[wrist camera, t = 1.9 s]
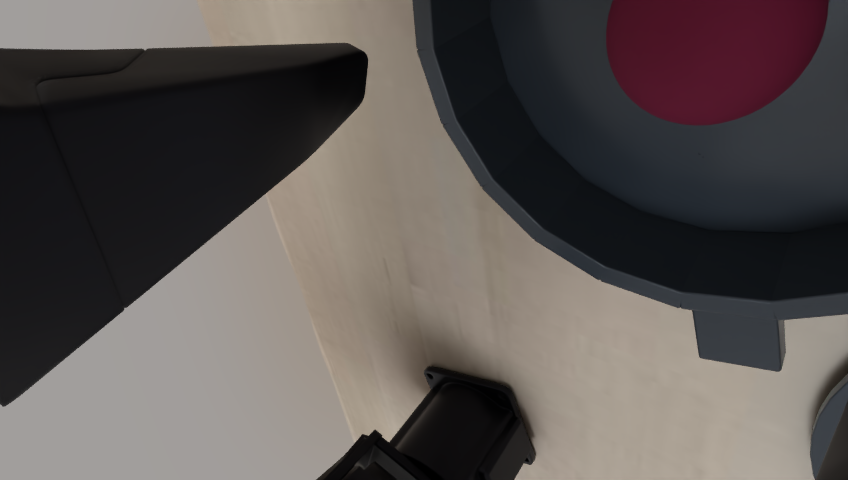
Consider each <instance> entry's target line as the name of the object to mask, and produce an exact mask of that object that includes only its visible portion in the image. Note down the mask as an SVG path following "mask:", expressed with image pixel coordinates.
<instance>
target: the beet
mask: <svg viewBox="0 0 848 480" xmlns="http://www.w3.org/2000/svg"><path fill="white" fill-rule="evenodd" d="M828 4H829V0H613V1H612V4H611V7H610V11H609V15H608V21H607V28H606V47H607V55H608V59H609V63H610V66H611V69H612V71H613V74H614V76H615V78H616V80H617V82H618V83H619V85H620V87H621V88H622V89H623V91H624V92H625V94H626V95H627V96H628V97H629V98H630V99H631V100H632V101H633V102H634V103H635V104H637V105H638V106H639V107H640V108H642V109H643V110H645V111H646V112H648V113H650V114H652V115H654V116H656V117H658V118H660V119H663V120H666V121H669V122H674V123H679V124H683V125H695V126H698V125H713V124H720V123H724V122H728V121H732V120H736V119H738V118H741V117H744V116H746V115H749V114H751V113H753V112H755V111H757V110H759V109H761V108H763V107H764V106H766V105H767V104H769V103H770V102H772V101H773V100H775V99H776V98H777V97H779V96H780V95H781V94H782V93H783V92H785V91H786V90H787V89H788V88H789V87H790V86H791V85H792V84H793V83H794V82H795V81H796V80H797V79H798V78H799V77H800V75H801V74H802V73H803V71H804V70H805V69H806V67H807V66H808V64H809V63H810V61H811V60H812V58H813V56H814V54H815V53H816V51H817V49H818V47H819V44H820V42H821V39H822V37H823V34H824V30H825V26H826V21H827V16H828Z"/></svg>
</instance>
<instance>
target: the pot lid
mask: <svg viewBox="0 0 848 480" xmlns="http://www.w3.org/2000/svg"><path fill="white" fill-rule="evenodd" d="M847 401H848V374H847V375H846V376H845V377H844V378H843V379H842V380H841V381H840V382H839V383H838V384H837V385H836V386H835V387H834V388H833V389H832V390H831V392H830V393H829V395H828V396H827V398H826V399H825V401H824V402H823V404H822V405H821V407H820V409H819V412H818V415H817V417H816V420H815V423H814V426H813V431H812V438H811V449H810V457H811V464H812V470H813V475H814V477H815V480H816V477H817V474H818V472H819V469H820V467H821V464H822V462H823V459H824V457H825V454H826V452H827V449H828V447H829V445H830V442H831V440H832V437H833V435H834V432H835V430H836V428H837V425H838V423H839V420H840V418H841V415H842V413H843V410H844V408H845V406H846V403H847Z"/></svg>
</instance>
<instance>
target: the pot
mask: <svg viewBox="0 0 848 480" xmlns="http://www.w3.org/2000/svg"><path fill="white" fill-rule="evenodd" d="M612 1H613V0H413V11H414V23H415V34H416V46H417V49H418V50H417V52H418V55H419V58H420V61H421V64H422V67H423V70H424V73H425V76H426V79H427V82H428V85H429V88H430V91H431V94H432V97H433V100H434V103H435V106H436V109H437V112H438V115H439V118H440V121H441V123H442V124H443V127H444V128H445V130H446V132H447V133H448V135H449V136H450V138H451V140H452V141H453V143H454V144H455V146H456V148H457V149H458V151H459V152H460V154H461V156H462V157H463V159H464V160H465V162H466V164H467V165H468V167H469V168H470V170H471V172H472V173H473V175H474V176H475V178H476V180H477V181H478V183H479V184H480V186H481V187H482V188H483V190H484V191H485V192H486V193H487V194H488V195H489V196H490V197H491V198H492V199H493V200H494V201H495V202H496V203H497V204H498V205H499V206H500V207H501V208H502V209H503V210H504V211H505V212H506V213H507V214H508V215H510V216H511V217H512V218H513V219H514V220H515V221H516V222H517V223H518V224H519V225H520V226H521V227H522V228H523V229H524V230H525V231H526V232H527V233H528V234H529V235H530V236H531V237H532V238H533V239H535V241H536V242H538V243H540V244H541V245H543V246H545V247H546V248H548V249H549V250H551V251H553V252H554V253H556V254H557V255H559V256H561V257H562V258H564V259H565V260H567V261H569V262H570V263H572V264H573V265H575V266H577V267H578V268H580V269H582V270H583V271H585V272H586V273H588V274H590V275H591V276H593V277H594V278H596V279H598V280H601V281H602V282H605V283H608V284H611V285H614V286H617V287H619V288H622V289H625V290H628V291H631V292H634V293H637V294H639V295H642V296H645V297H648V298H651V299H654V300H657V301H659V302H662V303H665V304H668V305H671V306H674V307H677V308H680V307H681V308H682V309H688V310H692V312H693V318H694V325H695V332H696V339H697V346H698V353H699V357H700V358H702V359H708V360H714V361H719V362H725V363H731V364H736V365H742V366H748V367H754V368H759V369H765V370H771V371H776V372H779V371H781V369H782V365H783V361H784V357H785V353H786V348H785V329H784V320H789V319H799V318H810V317H821V316H832V315H843V314H848V0H829V4H828V16H827V21H826V26H825V30H824V34H823V37H822V39H821V42H820V44H819V47H818V49H817V51H816V53H815V54H814V56H813V58H812V60H811V61H810V63H809V64H808V66H807V67H806V69H805V70H804V71H803V73H802V74H801V75H800V77H799V78H798V79H797V80H796V81H795V82H794V83H793V84H792V85H791V86H790V87H789V88H788V89H787V90H786V91H785V92H783V93H782V94H781V95H780V96H779V97H777V98H776V99H775V100H773V101H772V102H770V103H769V104H767V105H766V106H764V107H763V108H761V109H759V110H757V111H755V112H753V113H751V114H749V115H746V116H744V117H741V118H738V119H736V120H732V121H728V122H724V123H720V124H713V125H698V126H695V125H683V124H679V123H674V122H669V121H666V120H663V119H660V118H658V117H656V116H654V115H652V114H650V113H648V112H646V111H645V110H643V109H642V108H640V107H639V106H638V105H637V104H635V103H634V102H633V101H632V100H631V99H630V98H629V97H628V96H627V95H626V94H625V92H624V91H623V89H622V88H621V87H620V85H619V83H618V82H617V80H616V78H615V76H614V74H613V71H612V69H611V66H610V63H609V59H608V55H607V47H606V28H607V21H608V15H609V11H610V7H611V4H612Z"/></svg>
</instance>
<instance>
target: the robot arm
mask: <svg viewBox="0 0 848 480" xmlns="http://www.w3.org/2000/svg"><path fill="white" fill-rule="evenodd" d="M367 68H368V58H367V55H366V53H365V52H364V51H362V50H360V49H358V48H356V47H354V46H353V45H351V44H348V43H323V44H289V45H255V46H221V47H186V48H152V49H147V50H144V49H110V50H50V49H49V50H48V49H47V50H46V49H3V48H0V404H1V405H2V406H6V405H8V404H9V403H11V402H12V401H14V400H15V399H16V398H18V397H19V396H20V395H21V394H23V393H24V392H25V391H26V390H28V389H29V388H30V387H31V386H32V385H34V384H35V383H36V382H37V381H39V380H40V379H41V378H42V377H43V376H45V375H46V374H47V373H48V372H49V371H51V370H52V369H53V368H54V367H56V366H57V365H58V364H59V363H60V362H62V361H63V360H64V359H65V358H66V357H68V356H69V355H70V354H71V353H72V352H74V351H75V350H76V349H77V348H79V347H80V346H81V345H82V344H84V343H85V342H86V341H87V340H88V339H90V338H91V337H92V336H93V335H94V334H95V333H97V332H98V331H99V330H101V329H102V328H103V327H104V326H105V325H107V324H108V323H109V322H110V321H112V320H113V319H114V318H115V317H116V316H118V315H119V314H120V313H121V312H123V310H124V308H126V307H128V306H129V305H130V304H132V303H133V302H134V301H135V300H136V299H138V298H139V297H140V296H142V295H143V294H144V293H145V292H146V291H148V290H149V289H150V288H151V287H152V286H154V285H155V284H156V283H157V282H158V281H160V280H161V279H162V278H163V277H165V276H166V275H167V274H168V273H170V272H171V271H172V270H173V269H174V268H175V267H177V266H178V265H179V264H181V263H182V262H183V261H184V260H185V259H187V258H188V257H189V256H190V255H191V254H193V253H194V252H195V251H196V250H197V249H199V248H200V247H201V246H202V245H204V243H206V242H207V241H208V240H210V239H211V238H212V237H213V236H214V235H216V234H217V233H218V232H219V231H221V230H222V229H223V228H224V227H226V226H227V225H228V224H229V223H230V222H231V221H233V220H234V219H235V218H236V217H238V216H239V215H240V214H241V213H242V212H244V211H245V210H246V209H247V208H249V207H250V206H251V205H252V204H254V203H255V202H256V201H257V200H258V199H260V198H261V197H262V196H263V195H265V194H266V193H267V192H268V191H269V190H271V189H272V188H273V187H274V186H275V185H277V184H278V183H279V182H280V181H282V180H283V179H284V178H285V177H286V176H288V175H289V174H290V173H291V172H293V171H294V170H295V169H296V168H297V167H299V166H300V165H301V164H302V163H303V162H304V161H306V160H307V159H308V158H309V157H310V156H311V155H312V154H313V153H314V152H315V151H316V150H317V149H318V148H319V147H320V146H321V145H322V144H323V143H324V142H325V141H326V140H327V139H328V138H329V137H330V136H331V135H332V134H333V133H334V132H335V131H336V130H337V129H338V128H339V127H340V125H341V124H342V123H343V122H344V121H345V120H346V119H347V118H348V117H349V116H350V115H351V114H352V113H353V112H354V111H355V110H356V109H357V108H358V107H359V106H360V104H361V103H362V101H363V98H364V95H365V87H366V78H367ZM424 375H425V377H426V379H427V382H428V384H429V386H430V388H431V391H430V392H429V393H428V394H427V396H426V397H425V398H424V399H423V401H422V402H421V403H420V404H419V406H418V407H417V408H416V409H415V411H414V412H413V413H412V415H411V416H410V417H409V418H408V420H407V421H406V422H405V423H404V425H403V426H402V427H401V428H400V430H399V431H398V432H397V433H396V435H395V436H394V437H393V438H392V440H391V441H390V442H387V441H386V440H385V439H384V438H382V435H381V434H380V433H379V432H378V431H376V430H374V431H373V432H372V433H371V434H370V435H369V436H367V435H364V434H362V435H361V437H360V438H359V439H358V440H357V441H356V442H355V444H354V445H353V446H352V447H351V448H350V449H349V451H348V452H347V453H346V454H345V455H344V456H343V457H342V458H341V459H340V460H339V461H337V462H336V463H335V464H334V465H333V466H332V467H330V468H329V469H328V470H327V471H326V472H325V473H324V474H322V475H321V476H320V477H319V478H318V479H317V480H514V479H515V477H516V475H517V474H518V472H519V470H520V468H521V467H522V465H523V463H525V464H529V465H531V464H532V463H533V462H534V460H535V454H534V452H533V449H532V446H531V443H530V440H529V438H528V435H527V432H526V429H525V426H524V424H523V421H522V418H521V415H520V412H519V410H518V407H517V404H516V401H515V398H514V396H513V393H512V391H511V390H510V389H509V388H508V387H506V386H504V385H501V384H497V383H493V382H489V381H486V380H482V379H478V378H474V377H470V376H466V375H463V374H459V373H455V372H451V371H447V370H444V369H440V368H436V367H432V366H428V367H427V368H426V370H425V371H424ZM816 480H848V401H847V403H846V406H845V408H844V410H843V413H842V415H841V418H840V420H839V423H838V425H837V428H836V430H835V432H834V435H833V437H832V440H831V442H830V445H829V447H828V449H827V452H826V454H825V457H824V459H823V462H822V464H821V467H820V469H819V472H818V474H817V477H816Z"/></svg>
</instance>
